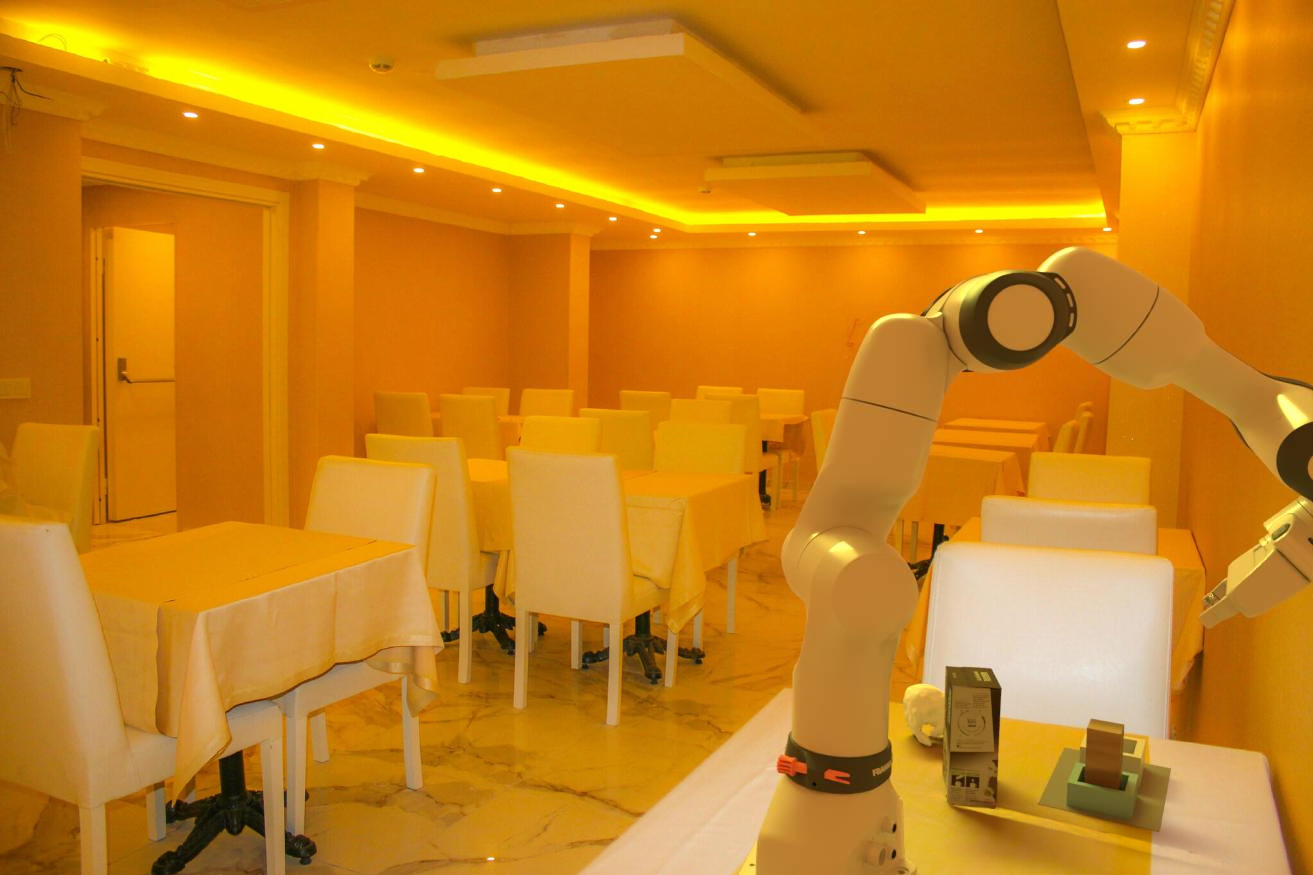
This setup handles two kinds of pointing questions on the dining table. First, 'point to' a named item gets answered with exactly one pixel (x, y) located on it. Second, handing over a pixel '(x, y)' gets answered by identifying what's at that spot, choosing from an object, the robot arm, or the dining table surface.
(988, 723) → the coffee box
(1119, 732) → the plug
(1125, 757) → the caddy
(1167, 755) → the dining table surface
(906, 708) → the white lumpy rounded piece
